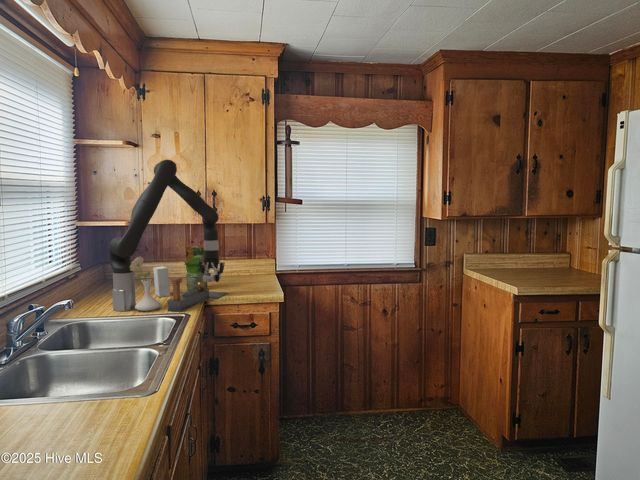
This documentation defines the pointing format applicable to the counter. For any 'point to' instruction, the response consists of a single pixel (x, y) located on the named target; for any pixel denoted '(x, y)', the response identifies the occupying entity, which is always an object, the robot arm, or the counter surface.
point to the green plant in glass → (194, 266)
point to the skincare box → (161, 281)
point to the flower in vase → (147, 300)
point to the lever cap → (210, 277)
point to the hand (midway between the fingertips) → (212, 281)
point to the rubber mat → (217, 294)
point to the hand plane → (186, 296)
